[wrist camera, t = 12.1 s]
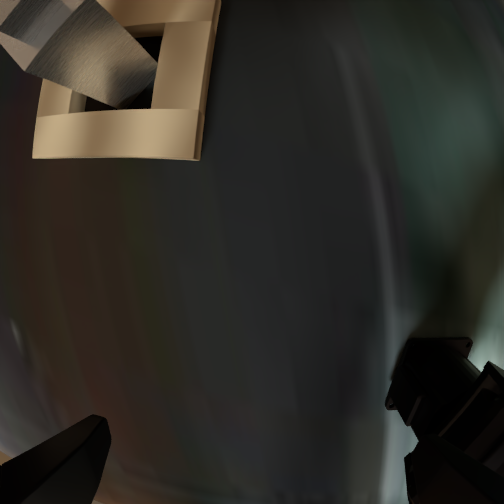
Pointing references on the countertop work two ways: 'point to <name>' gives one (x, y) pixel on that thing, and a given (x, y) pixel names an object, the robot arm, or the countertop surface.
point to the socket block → (164, 94)
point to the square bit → (76, 48)
